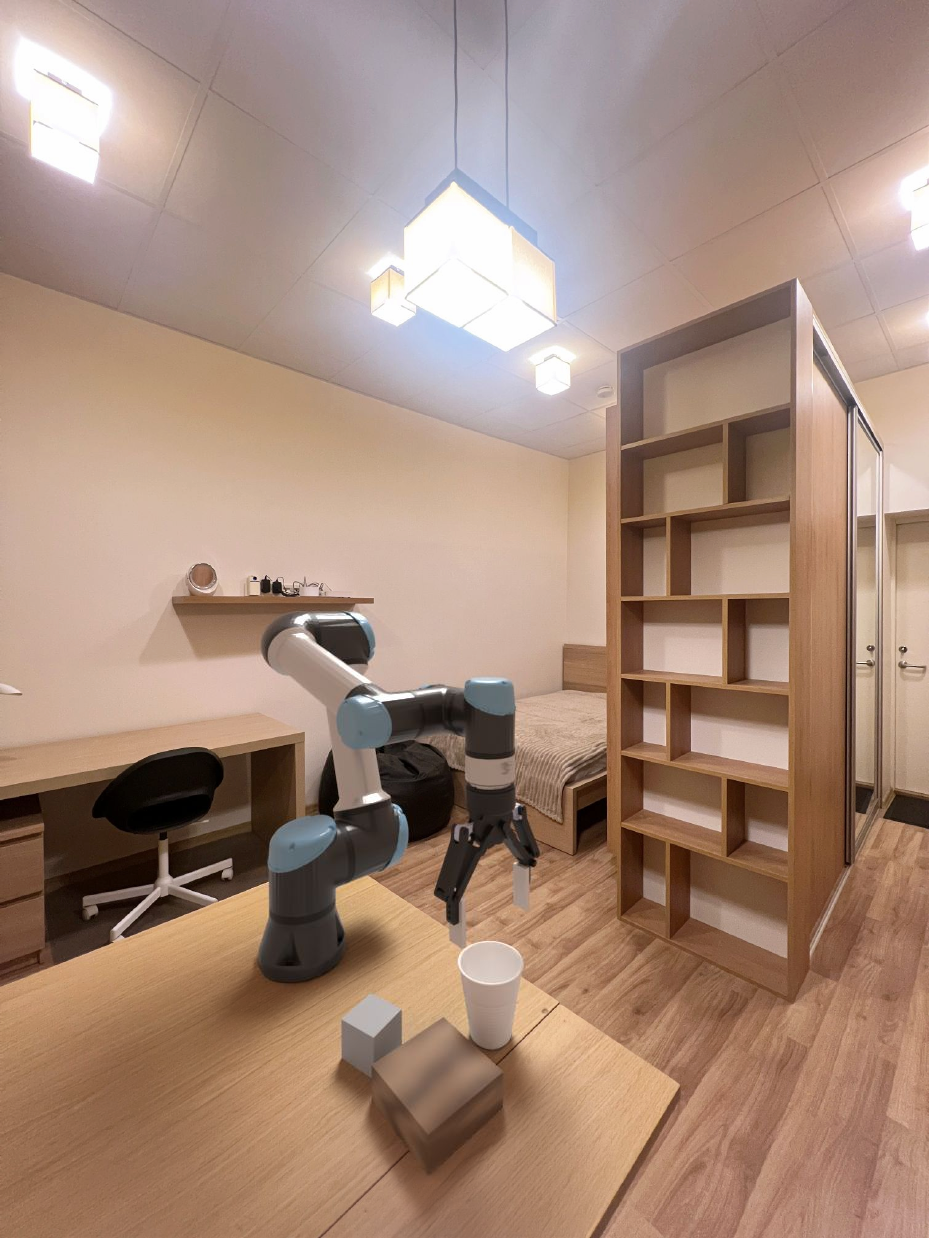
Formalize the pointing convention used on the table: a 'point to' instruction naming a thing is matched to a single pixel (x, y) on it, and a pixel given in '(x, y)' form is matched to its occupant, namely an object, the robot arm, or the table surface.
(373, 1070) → the walnut block
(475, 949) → the cup
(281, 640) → the robot arm
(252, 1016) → the table surface
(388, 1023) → the grey cube
